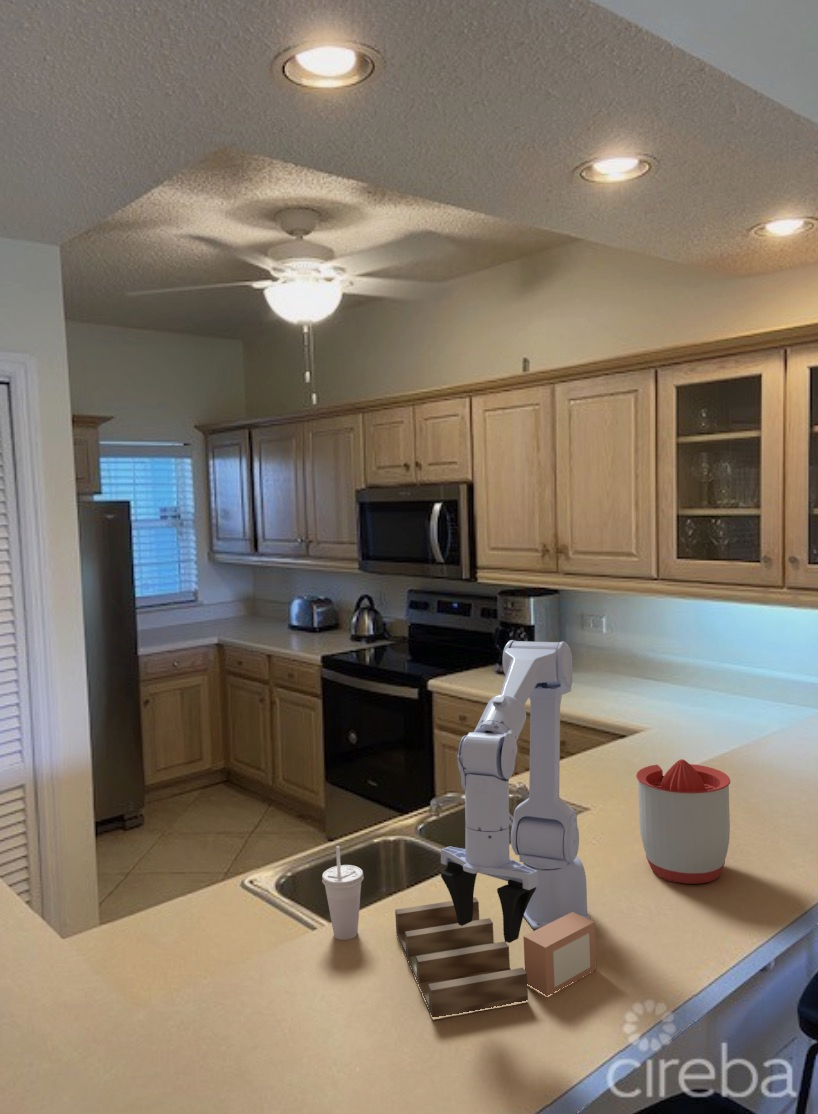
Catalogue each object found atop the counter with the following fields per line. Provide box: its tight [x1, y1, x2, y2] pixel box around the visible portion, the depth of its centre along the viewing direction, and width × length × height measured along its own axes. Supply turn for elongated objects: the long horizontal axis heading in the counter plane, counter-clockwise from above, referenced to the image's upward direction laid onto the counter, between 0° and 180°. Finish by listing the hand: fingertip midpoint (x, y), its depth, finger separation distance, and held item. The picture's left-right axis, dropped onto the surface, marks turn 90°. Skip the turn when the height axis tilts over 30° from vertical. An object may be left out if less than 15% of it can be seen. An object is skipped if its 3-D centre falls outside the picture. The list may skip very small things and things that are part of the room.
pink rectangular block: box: [523, 912, 597, 996], centre depth 114 cm, size 4×10×7 cm, turn 128°
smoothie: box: [321, 845, 364, 941], centre depth 128 cm, size 6×6×14 cm
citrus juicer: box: [635, 758, 731, 885], centre depth 145 cm, size 16×17×20 cm
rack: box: [394, 896, 529, 1017], centre depth 118 cm, size 13×22×4 cm, turn 13°
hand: (487, 931), depth 107 cm, fingers open, 7 cm apart
